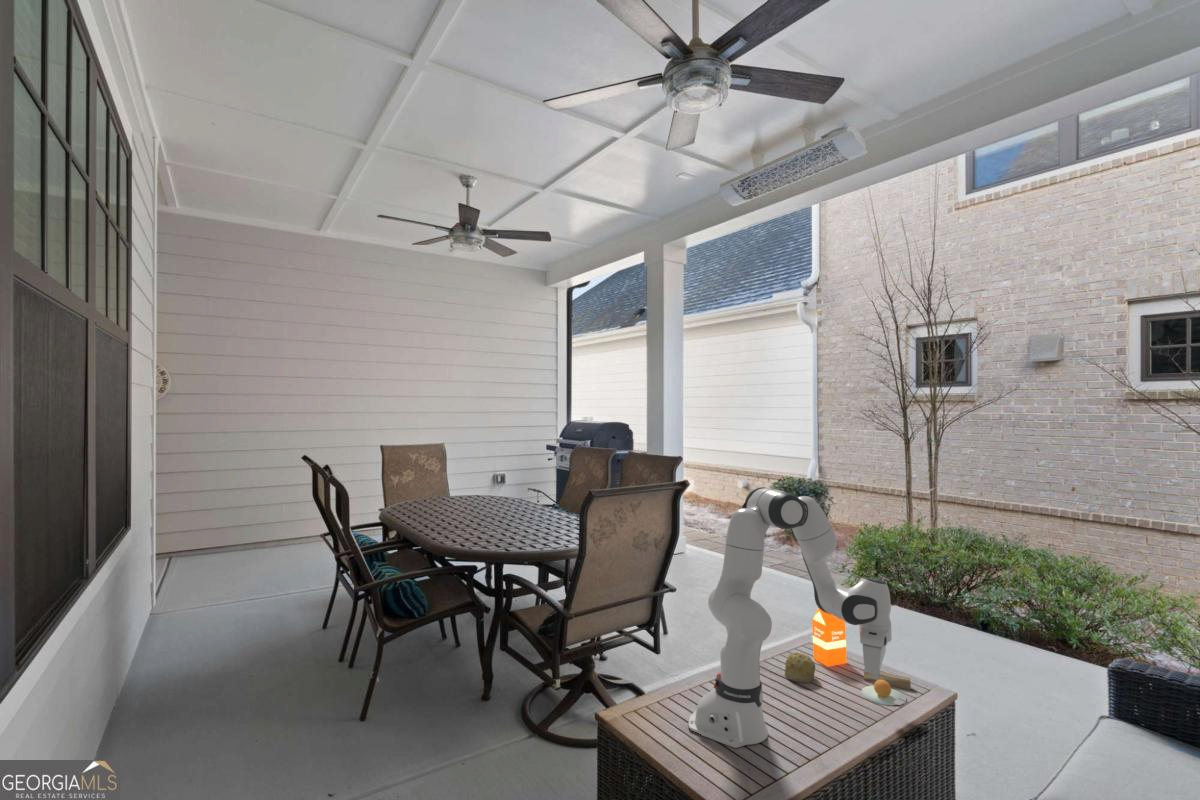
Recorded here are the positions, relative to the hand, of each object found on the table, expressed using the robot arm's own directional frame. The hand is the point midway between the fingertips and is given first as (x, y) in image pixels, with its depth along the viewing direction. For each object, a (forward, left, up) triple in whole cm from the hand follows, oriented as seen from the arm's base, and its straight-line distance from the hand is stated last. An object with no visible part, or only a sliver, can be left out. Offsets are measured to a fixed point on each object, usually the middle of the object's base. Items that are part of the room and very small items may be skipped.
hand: (876, 677), depth 164 cm
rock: (-24, +14, -11) cm, 30 cm away
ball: (+1, +12, -8) cm, 14 cm away
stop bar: (+2, +22, -10) cm, 25 cm away
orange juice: (-16, +33, -11) cm, 39 cm away
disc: (+2, +12, -10) cm, 16 cm away
